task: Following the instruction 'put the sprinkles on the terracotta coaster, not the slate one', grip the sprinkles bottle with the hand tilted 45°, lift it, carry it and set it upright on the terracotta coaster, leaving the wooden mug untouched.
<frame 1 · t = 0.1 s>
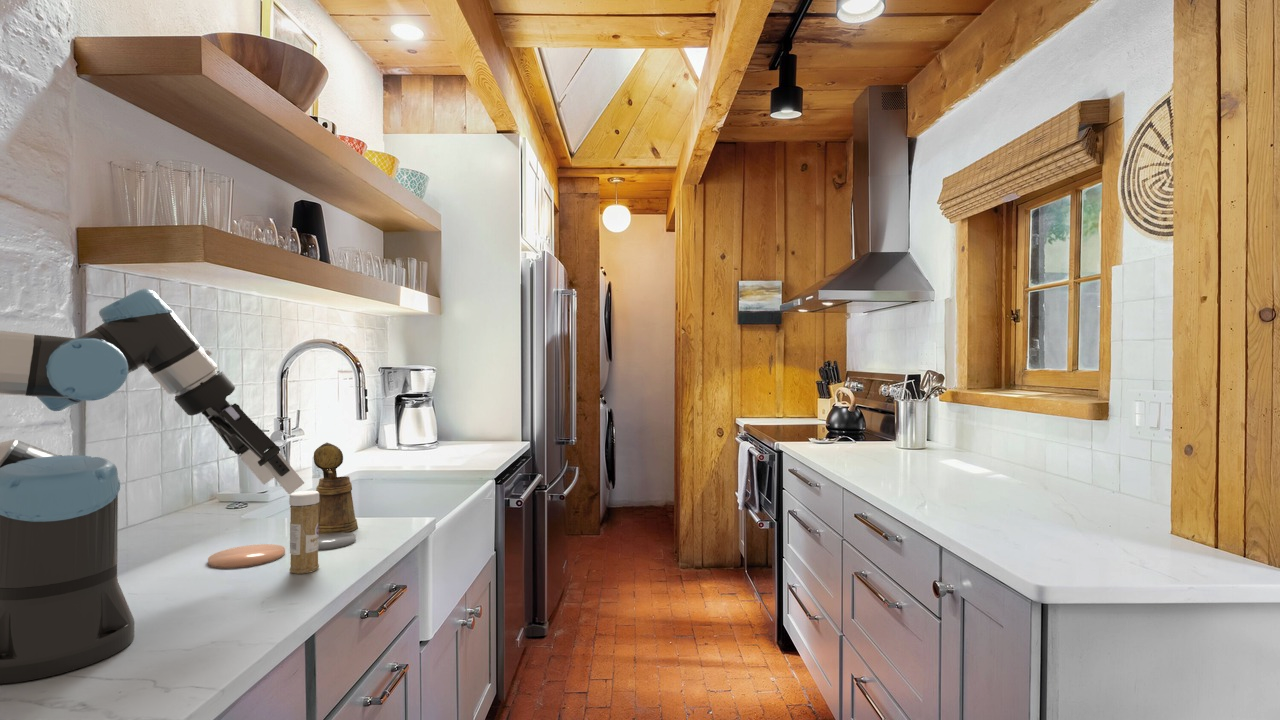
hand: (283, 483, 107), 15 cm above the table, tool tilted 35°, fingers open, 13 cm apart
slate coaster: (328, 542, 126), on the table
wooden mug: (332, 528, 138), on the table
sprinkles bottle: (304, 571, 109), on the table
terracotta coaster: (247, 557, 116), on the table
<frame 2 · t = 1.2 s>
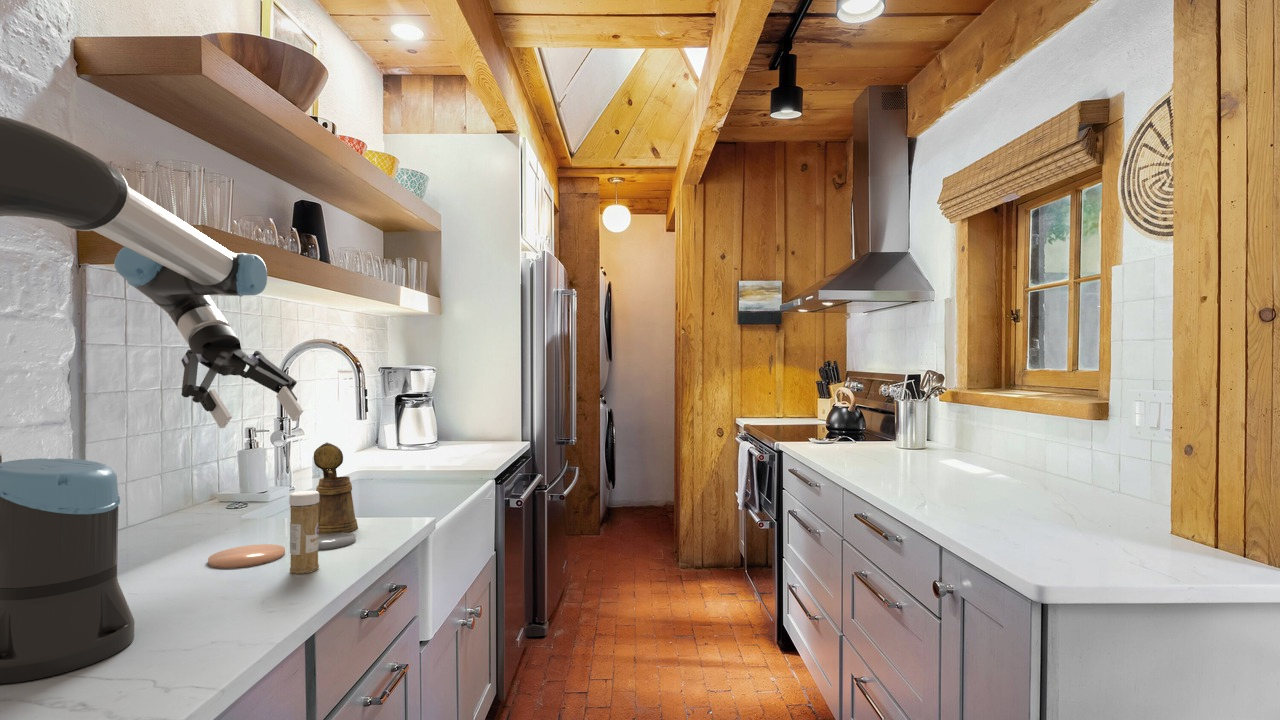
hand: (264, 419, 113), 26 cm above the table, tool tilted 45°, fingers open, 13 cm apart
nothing on the table moved.
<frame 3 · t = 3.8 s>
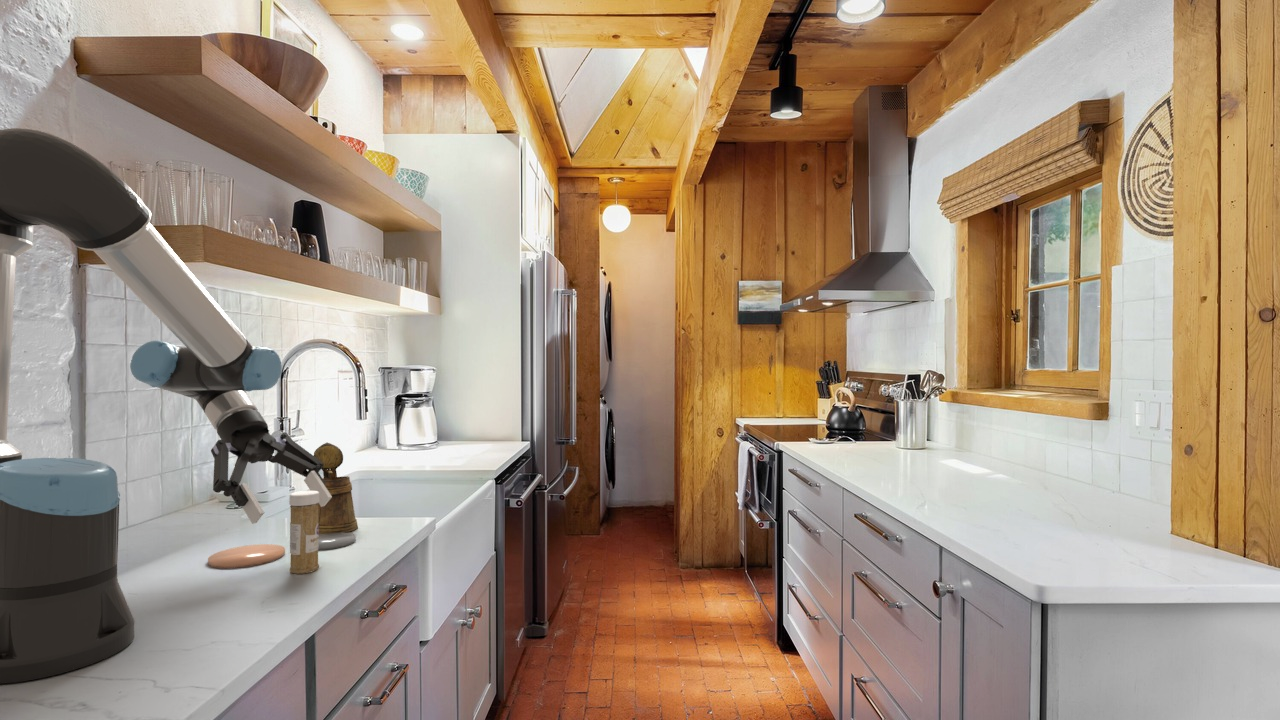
hand: (294, 509, 112), 10 cm above the table, tool tilted 45°, fingers open, 13 cm apart
nothing on the table moved.
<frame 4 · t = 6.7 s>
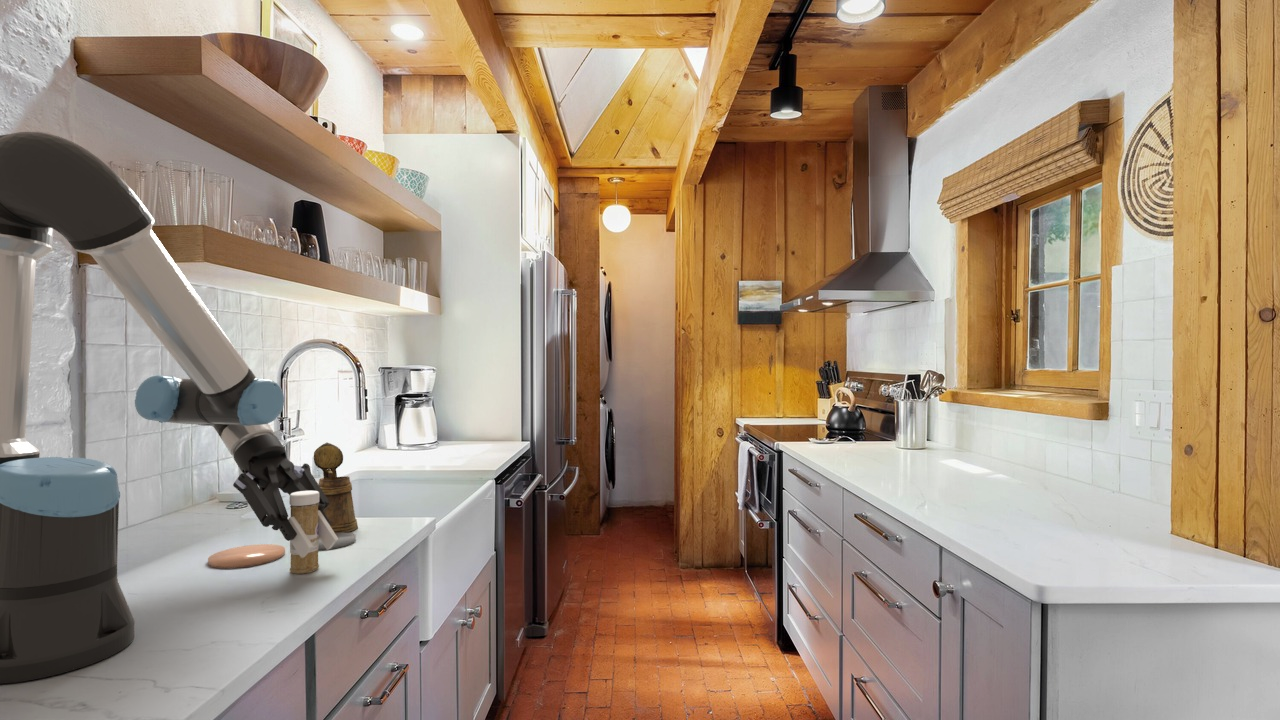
hand: (320, 548, 107), 4 cm above the table, tool tilted 45°, fingers closed on sprinkles bottle, 4 cm apart
sprinkles bottle: (304, 571, 109), on the table, touching gripper
everything else where it was.
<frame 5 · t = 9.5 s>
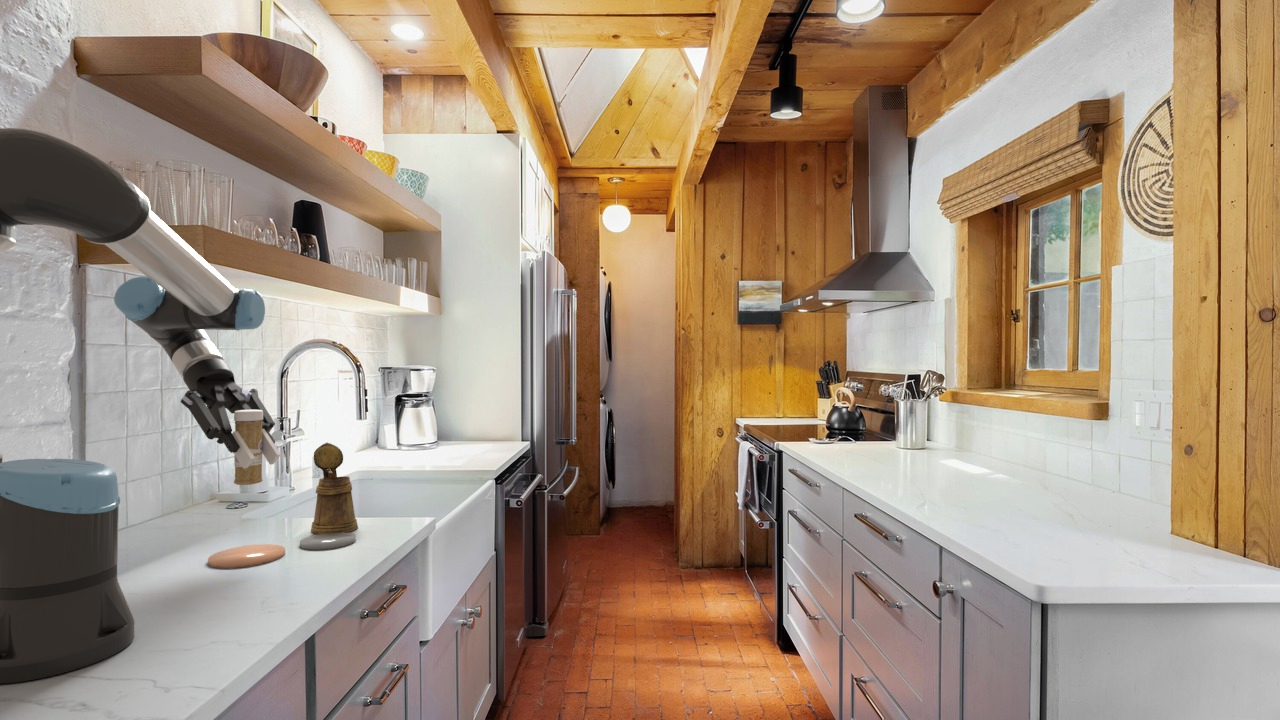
hand: (262, 461, 114), 18 cm above the table, tool tilted 45°, fingers closed on sprinkles bottle, 4 cm apart
sprinkles bottle: (248, 484, 116), point 13 cm above the table, touching gripper
everything else where it was.
when the fingers open (6 cm above the table, at t = 12.7 s): sprinkles bottle drops 1 cm, resting on terracotta coaster.
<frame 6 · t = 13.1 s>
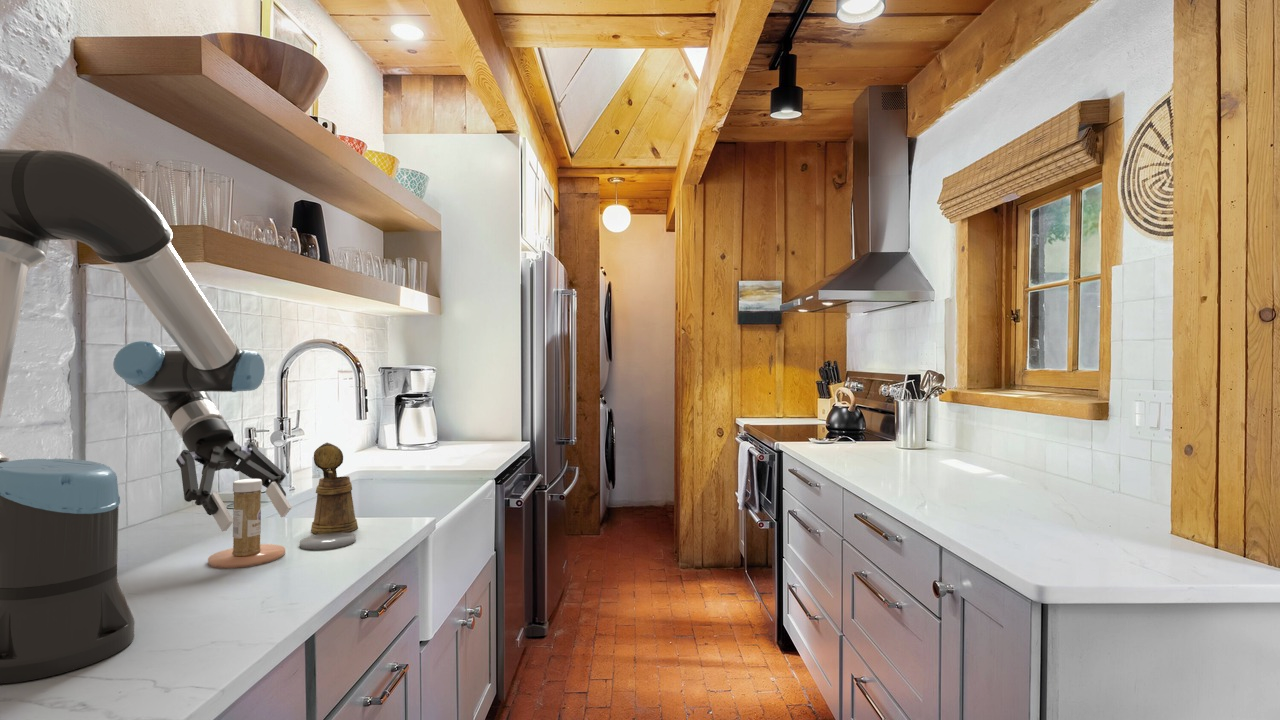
hand: (258, 519, 115), 7 cm above the table, tool tilted 45°, fingers open, 10 cm apart
sprinkles bottle: (246, 554, 115), point 1 cm above the table, touching terracotta coaster
everything else where it was.
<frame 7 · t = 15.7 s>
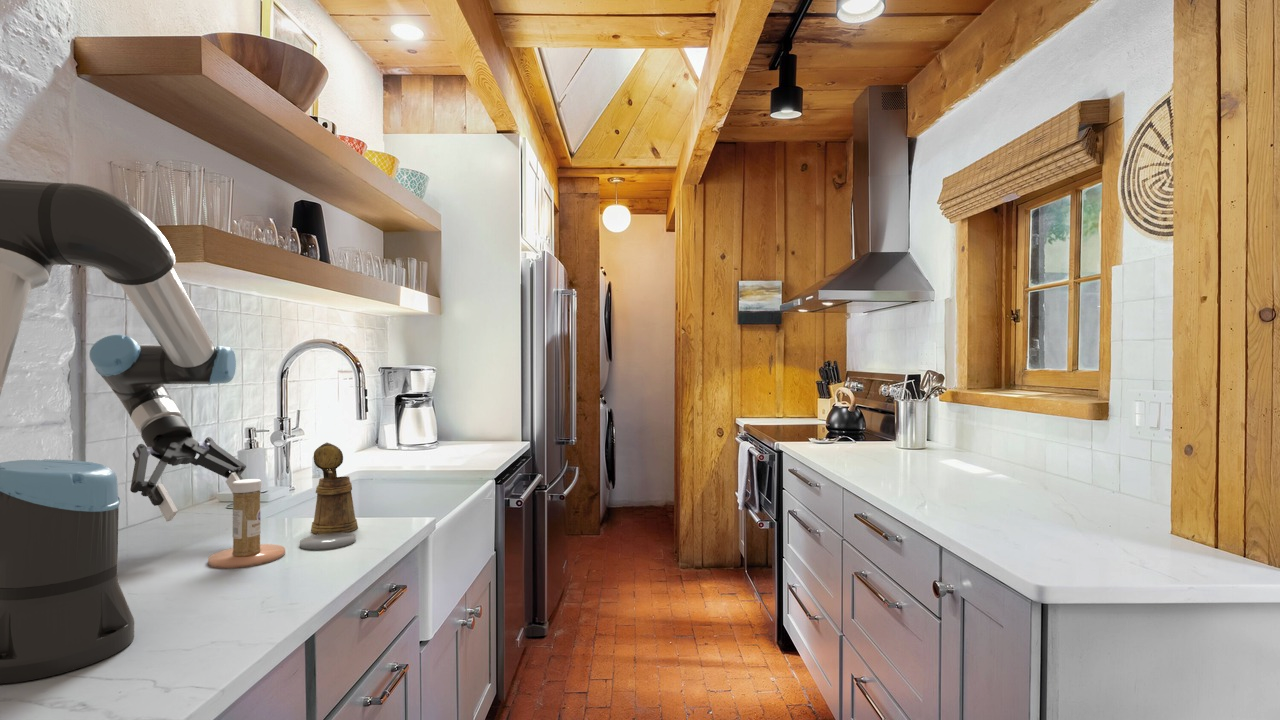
hand: (210, 508, 120), 8 cm above the table, tool tilted 45°, fingers open, 13 cm apart
nothing on the table moved.
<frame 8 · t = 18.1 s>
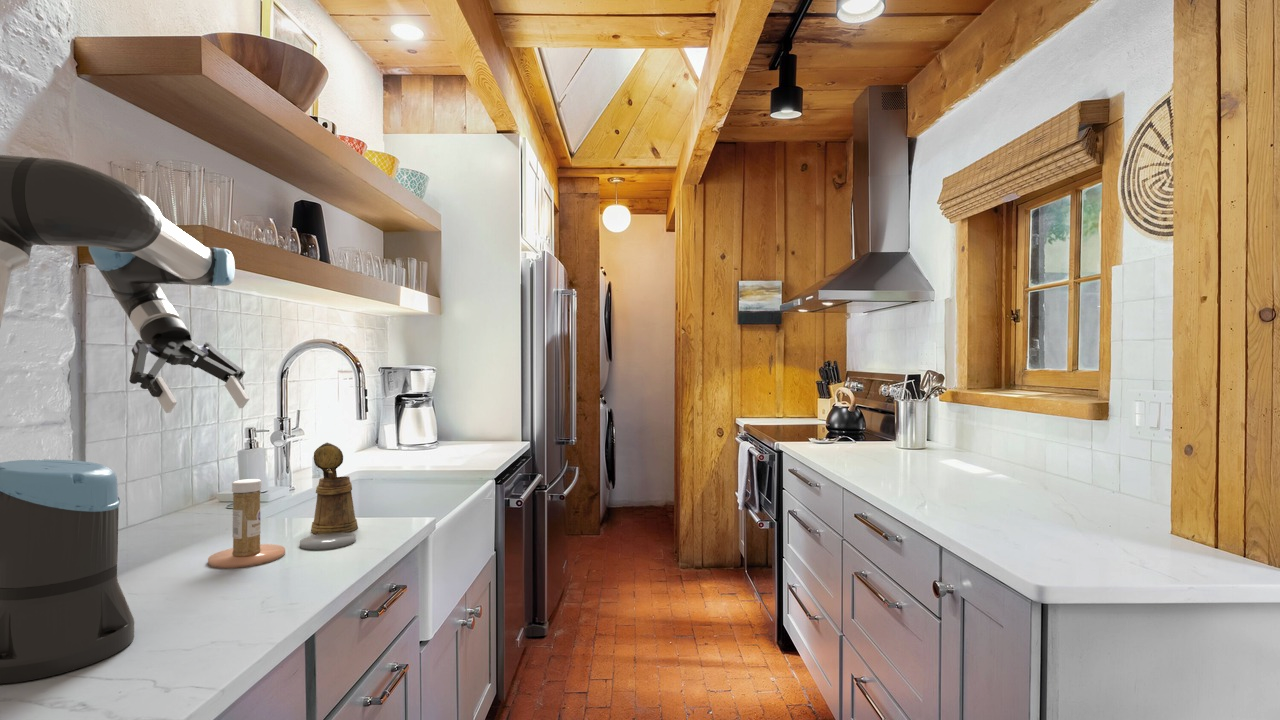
hand: (210, 405, 120), 28 cm above the table, tool tilted 45°, fingers open, 13 cm apart
nothing on the table moved.
at the end: sprinkles bottle inside the target area on the terracotta coaster (0.2 cm from its centre), point 0.6 cm above the terracotta coaster's base; sprinkles bottle tilted 0°; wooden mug moved 0.2 cm from its start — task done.
